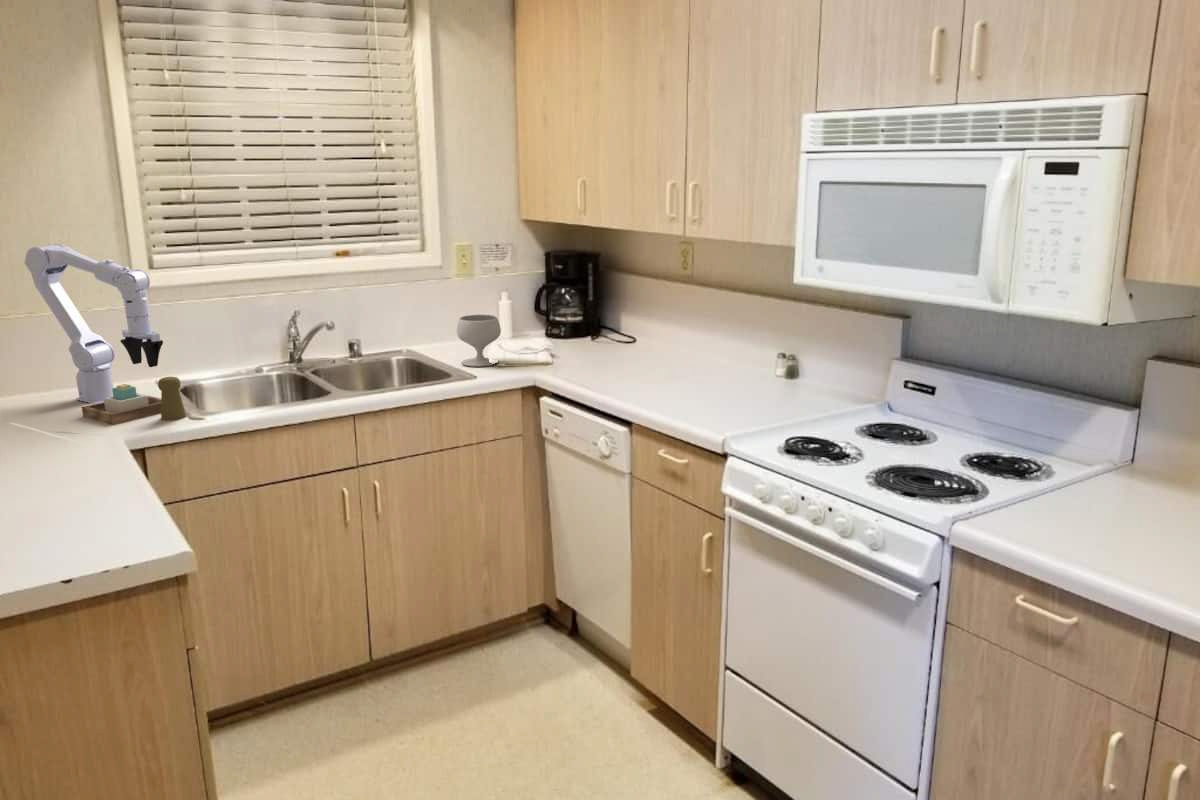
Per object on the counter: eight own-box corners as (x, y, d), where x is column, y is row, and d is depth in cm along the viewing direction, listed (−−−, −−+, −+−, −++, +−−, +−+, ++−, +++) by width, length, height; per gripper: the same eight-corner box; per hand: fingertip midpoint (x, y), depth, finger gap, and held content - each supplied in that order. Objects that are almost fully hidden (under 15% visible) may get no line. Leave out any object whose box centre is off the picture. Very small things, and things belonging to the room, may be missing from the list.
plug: (116, 414, 241) (111, 386, 239) (130, 410, 244) (126, 383, 242) (124, 416, 239) (120, 388, 237) (139, 412, 242) (135, 384, 240)
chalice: (452, 361, 301) (450, 316, 297) (492, 357, 307) (490, 312, 303) (467, 370, 289) (465, 322, 285) (508, 365, 295) (507, 318, 291)
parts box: (83, 418, 239) (81, 407, 238) (141, 404, 252) (140, 393, 251) (113, 426, 232) (111, 414, 231) (172, 411, 245) (170, 400, 244)
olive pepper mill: (191, 415, 240) (186, 374, 238) (178, 422, 235) (173, 380, 232) (169, 415, 241) (163, 374, 238) (156, 421, 235) (150, 380, 232)
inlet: (106, 414, 241) (103, 398, 240) (133, 408, 247) (131, 392, 246) (122, 418, 237) (119, 401, 236) (149, 412, 243) (147, 395, 242)
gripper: (108, 315, 250) (116, 364, 253) (139, 320, 242) (146, 370, 245) (133, 312, 255) (140, 360, 259) (164, 316, 248) (171, 365, 251)
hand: (145, 364), depth 252 cm, fingers open, 7 cm apart
